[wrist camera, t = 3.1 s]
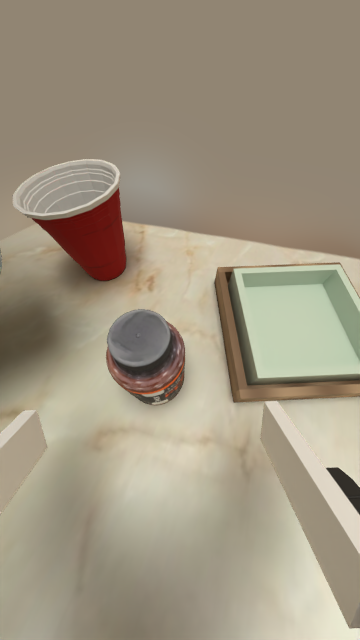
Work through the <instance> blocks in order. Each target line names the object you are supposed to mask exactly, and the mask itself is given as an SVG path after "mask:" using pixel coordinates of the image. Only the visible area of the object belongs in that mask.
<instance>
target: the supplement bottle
mask: <svg viewBox="0 0 360 640" xmlns="http://www.w3.org/2000/svg"><path fill="white" fill-rule="evenodd" d="M107 344H108V347H107V352H106V360H107V366H108V369H109V372H110V374H111V375H112V377H113V379H114V380H115V381H116V382H117V383H118V384H119V385H120V386H121V387H123V388H124V389H125V390H127V391H128V392H129V393H131V394H132V395H134V396H135V397H136V398H138V399H139V400H140V401H142V402H144V403H147V404H151V405H159V404H164V403H166V402H168V401H170V400H172V399H173V398H174V397H175V396H176V395H177V394H178V392H179V391H180V389H181V387H182V385H183V381H184V366H185V347H184V342H183V339H182V337H181V335H180V334H179V332H178V331H177V329H176V328H175V327H174V326H173V325H171V324H170V323H168V322H167V321H166V320H165V319H164V318H163V317H162V316H161V315H159V314H158V313H156V312H153V311H150V310H145V309H138V310H133V311H130V312H127V313H125V314H124V315H122V316H120V317H119V318H118V319H117V320H116V321H115V322H114V323H113V325H112V326H111V328H110V330H109V333H108V338H107Z"/></svg>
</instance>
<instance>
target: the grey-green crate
mask: <svg viewBox="0 0 360 640" xmlns="http://www.w3.org/2000/svg"><path fill="white" fill-rule="evenodd" d="M228 291H229V296H230V301H231V306H232V311H233V316H234V321H235V326H236V331H237V337H238V342H239V347H240V352H241V357H242V362H243V367H244V372H245V378H246V383H247V385H269V384H290V383H312V382H333V381H355V380H360V298H359V297H358V295H357V293H356V291H355V290H354V288H353V286H352V284H351V283H350V281H349V279H348V277H347V276H346V274H345V272H344V270H343V268H342V267H341V265H340V264H337V265H312V266H287V267H262V268H238V269H233V272H232V275H231V278H230V281H229V284H228Z"/></svg>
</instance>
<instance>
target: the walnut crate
mask: <svg viewBox="0 0 360 640" xmlns="http://www.w3.org/2000/svg"><path fill="white" fill-rule="evenodd" d="M337 264H340V263H315V264H290V265H265V266H240V267H218V269H217V273H216V278H215V288H216V295H217V301H218V307H219V314H220V320H221V326H222V333H223V339H224V345H225V352H226V358H227V364H228V370H229V377H230V383H231V389H232V396H233V402H252V401H273V400H294V399H315V398H336V397H357V396H360V380H355V381H333V382H312V383H290V384H269V385H247V383H246V378H245V372H244V367H243V362H242V357H241V352H240V347H239V342H238V337H237V331H236V326H235V321H234V316H233V311H232V306H231V301H230V296H229V291H228V284H229V281H230V278H231V275H232V272H233V269H238V268H262V267H287V266H312V265H337ZM340 265H341V264H340ZM341 267H342V266H341ZM342 268H343V267H342ZM343 270H344V269H343ZM344 272H345V271H344ZM345 274H346V273H345ZM346 276H347V274H346ZM347 277H348V276H347ZM348 279H349V278H348ZM349 281H350V280H349ZM350 283H351V281H350ZM351 284H352V283H351ZM352 286H353V285H352ZM353 288H354V287H353ZM354 290H355V288H354ZM355 291H356V290H355ZM356 293H357V292H356ZM357 295H358V294H357ZM358 297H359V295H358ZM359 298H360V297H359Z"/></svg>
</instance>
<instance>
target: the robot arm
mask: <svg viewBox="0 0 360 640" xmlns="http://www.w3.org/2000/svg"><path fill="white" fill-rule="evenodd" d="M1 269H2V255H1V250H0V273H1ZM260 439H261V442H262V444H263V446H264V448H265V450H266V452H267V454H268V456H269V459H270V461H271V463H272V465H273V467H274V469H275V471H276V473H277V476H278V478H279V480H280V482H281V484H282V486H283V488H284V490H285V493H286V495H287V497H288V499H289V501H290V503H291V505H292V507H293V510H294V512H295V514H296V516H297V518H298V520H299V522H300V525H301V527H302V529H303V531H304V533H305V535H306V537H307V539H308V542H309V544H310V546H311V548H312V550H313V552H314V554H315V556H316V559H317V561H318V563H319V565H320V567H321V569H322V571H323V573H324V576H325V578H326V580H327V582H328V584H329V586H330V588H331V590H332V593H333V595H334V597H335V599H336V601H337V603H338V605H339V607H340V610H341V612H342V614H343V616H344V618H345V620H346V622H347V624H348V627H349V628H360V488H359V487H358V485H357V484H356V483H355V482H354V480H353V479H351V478H350V477H349V476H348V475H347V474H345V473H344V472H343V471H342V470H340V469H339V468H325V466H324V465H323V464H322V462H321V461H320V459H319V458H318V457H317V455H316V454H315V452H314V451H313V450H312V448H311V447H310V446H309V444H308V443H307V441H306V440H305V439H304V437H303V436H302V434H301V433H300V432H299V430H298V429H297V428H296V426H295V425H294V423H293V422H292V421H291V419H290V418H289V416H288V415H287V414H286V412H285V411H284V409H283V408H282V407H281V405H280V404H279V403H278V401H264V408H263V418H262V428H261V438H260ZM46 449H47V444H46V440H45V437H44V433H43V430H42V426H41V423H40V419H39V415H38V412H37V410H24V411H23V412H22V413H21V414H20V415H18V416H17V417H16V418H15V419H14V420H13V421H12V422H11V423H10V424H9V425H8V426H7V427H6V428H5V429H4V430H3V431H2V432H1V433H0V515H1V513H2V512H3V510H4V509H5V508H6V506H7V505H8V503H9V502H10V500H11V499H12V498H13V496H14V495H15V493H16V492H17V490H18V489H19V487H20V486H21V485H22V483H23V482H24V480H25V479H26V477H27V476H28V475H29V473H30V472H31V470H32V469H33V467H34V466H35V465H36V463H37V462H38V460H39V459H40V457H41V456H42V454H43V453H44V452H45V450H46Z"/></svg>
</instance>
